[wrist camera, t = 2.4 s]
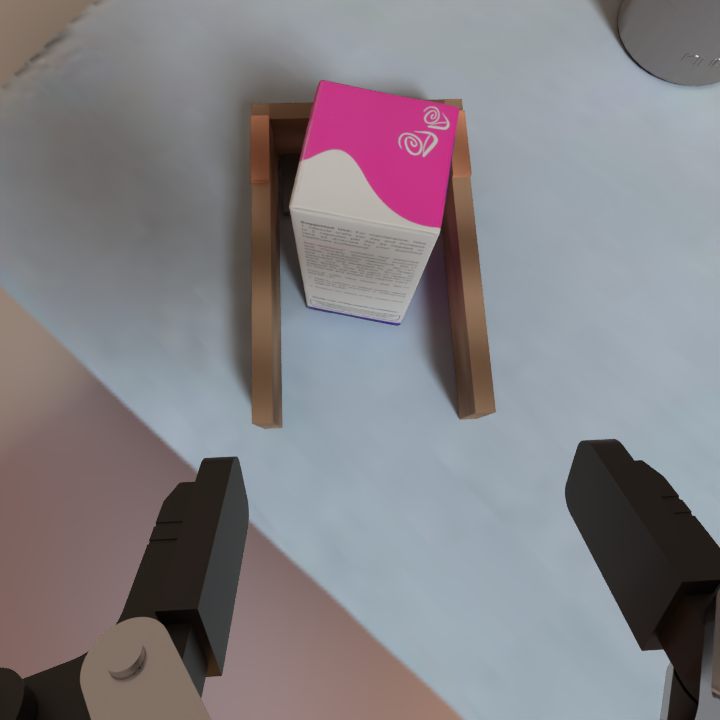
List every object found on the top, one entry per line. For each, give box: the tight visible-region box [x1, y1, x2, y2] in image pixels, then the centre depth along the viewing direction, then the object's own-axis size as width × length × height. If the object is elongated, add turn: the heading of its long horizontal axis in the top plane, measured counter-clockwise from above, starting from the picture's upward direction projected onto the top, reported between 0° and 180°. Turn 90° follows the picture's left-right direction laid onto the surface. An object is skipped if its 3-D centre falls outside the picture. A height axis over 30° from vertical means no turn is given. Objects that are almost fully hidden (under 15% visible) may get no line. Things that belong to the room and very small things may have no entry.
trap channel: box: [251, 99, 496, 429], centre depth 27 cm, size 18×12×4 cm, turn 3°
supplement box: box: [289, 80, 459, 325], centre depth 23 cm, size 6×6×12 cm
